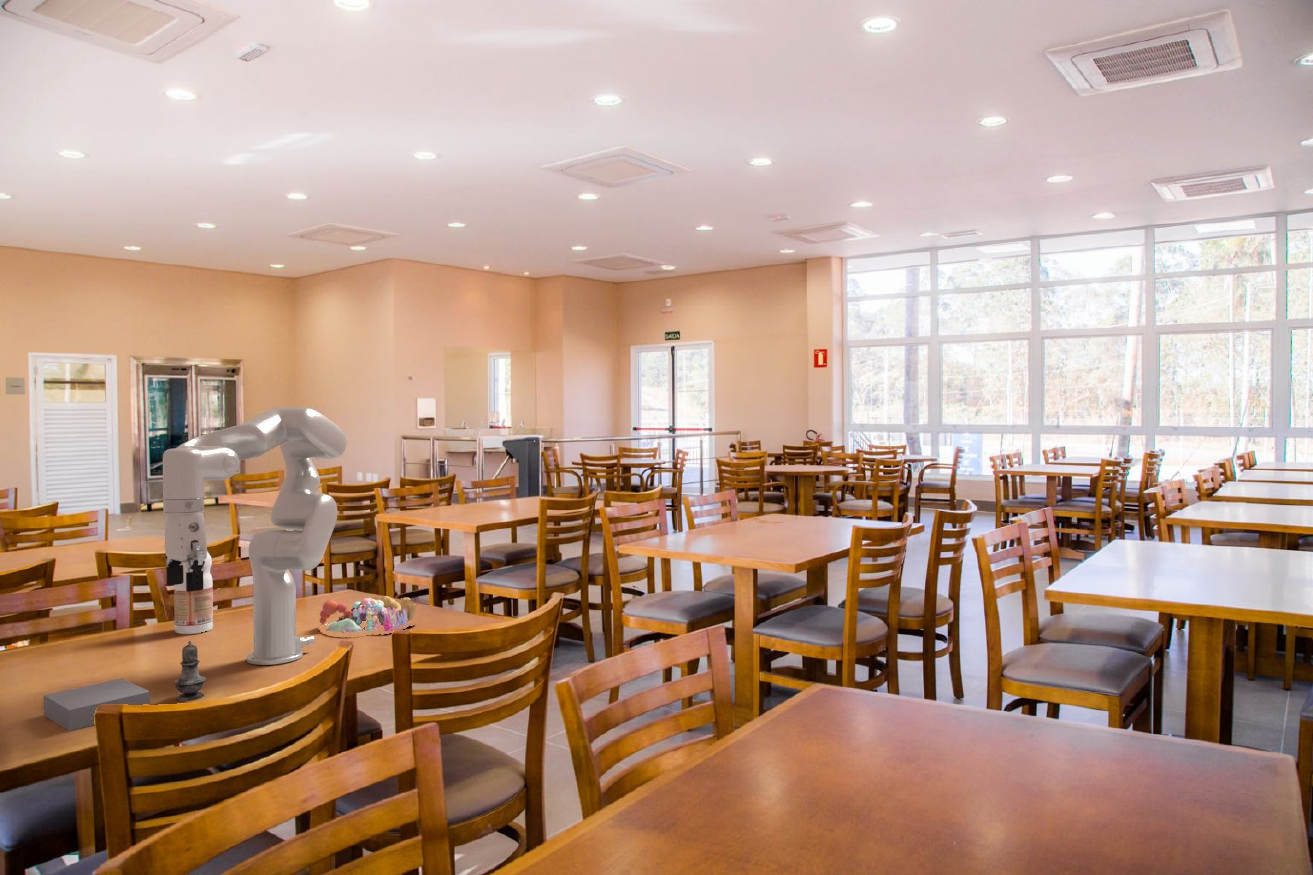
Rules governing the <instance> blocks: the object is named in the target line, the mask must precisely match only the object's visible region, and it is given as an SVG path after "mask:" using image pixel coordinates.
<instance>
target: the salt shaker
mask: <svg viewBox="0 0 1313 875" xmlns="http://www.w3.org/2000/svg"><path fill="white" fill-rule="evenodd" d="M181 653H182V654H181V655H182V656H181V659H182V661H181V662H180V663H179V664H180V665H181V675H180V678H177V679H176V680H174V683H173V684H174V685H175V688H176V690H177V691H178V692H179V693H180V694H179V695H177V696H176V698H175V700H176V701H179V702H189V701H190V702H191V701H195V700H199V699H202V698H204V696H205V694H204V692H201V689H202V688H203V687H204V685H205V681H206V679H207V677H205V676H201V675H200V673H199V663H200V660H198V656H199V655H198V646H196V645H195V644H193V643H192V641H191V640H189V641H188V642H187V645H185V646H184V647H182V651H181Z"/></svg>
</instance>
